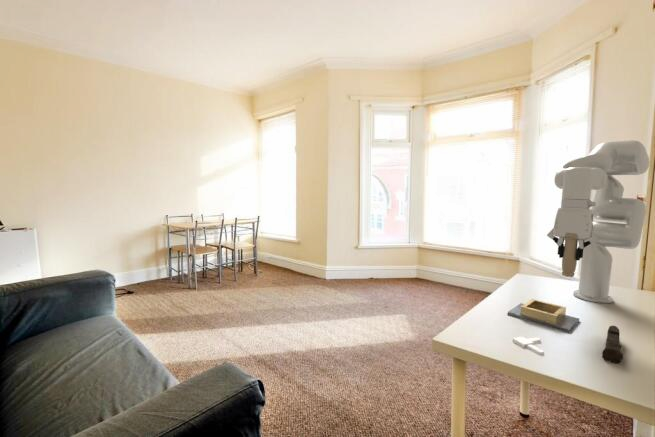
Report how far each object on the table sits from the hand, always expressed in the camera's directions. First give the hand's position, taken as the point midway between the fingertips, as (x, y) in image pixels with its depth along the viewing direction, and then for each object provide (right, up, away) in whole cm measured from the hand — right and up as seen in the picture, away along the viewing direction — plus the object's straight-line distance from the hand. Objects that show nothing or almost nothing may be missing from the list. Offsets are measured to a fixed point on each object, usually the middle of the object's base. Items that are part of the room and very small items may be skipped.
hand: (569, 257), depth 108 cm
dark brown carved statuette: (-2, -24, -17) cm, 30 cm away
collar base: (-7, -21, +3) cm, 23 cm away
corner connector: (-22, -24, -16) cm, 37 cm away
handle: (0, -7, +1) cm, 6 cm away
